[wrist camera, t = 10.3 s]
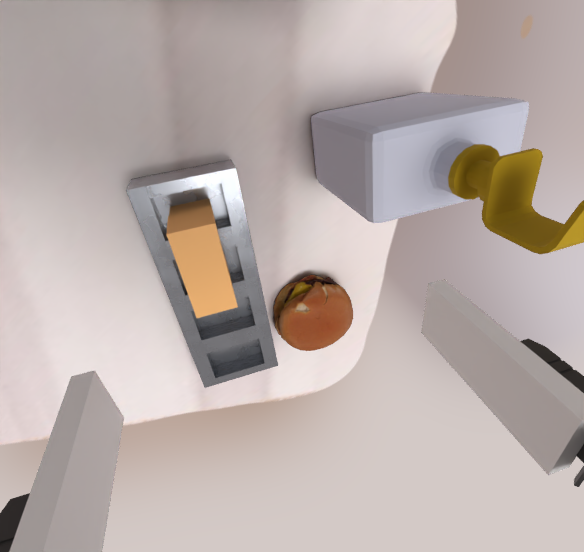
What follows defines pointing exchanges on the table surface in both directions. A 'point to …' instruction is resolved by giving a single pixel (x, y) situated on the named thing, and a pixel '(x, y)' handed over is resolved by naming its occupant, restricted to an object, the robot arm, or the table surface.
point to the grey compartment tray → (240, 259)
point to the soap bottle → (439, 163)
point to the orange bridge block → (200, 257)
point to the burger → (312, 313)
